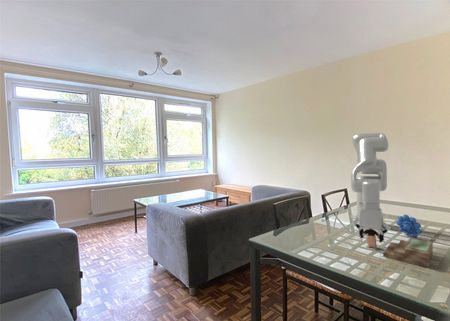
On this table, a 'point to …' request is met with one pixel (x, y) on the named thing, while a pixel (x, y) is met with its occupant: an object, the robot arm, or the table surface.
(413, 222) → the grapes
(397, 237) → the table surface
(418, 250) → the step riser
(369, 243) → the grandmother figurine
